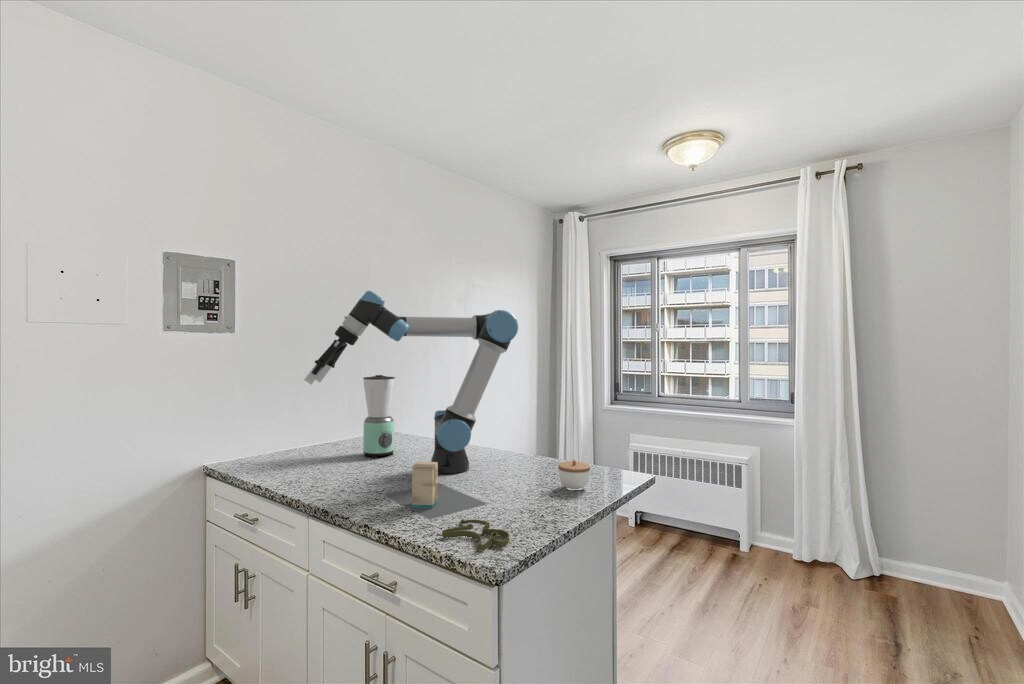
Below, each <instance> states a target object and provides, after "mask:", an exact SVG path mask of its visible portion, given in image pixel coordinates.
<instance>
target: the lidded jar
mask: <svg viewBox="0 0 1024 684" xmlns="http://www.w3.org/2000/svg"><path fill="white" fill-rule="evenodd" d="M557 467H558V468H557V469H558V478H559V481H560V484H561V485H562V486H563V487H564V488H565V487H566V488H571V489H579V488H583V487H584V488H585V487H586V486H587V485H588V483H589V481H590V477H591V476H590V475H591V465H590V464H589V463H586V462H581V461H576V460H575V459H572V461H564V462H560V463H558V465H557ZM584 488H583V489H584Z"/></svg>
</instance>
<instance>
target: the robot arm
mask: <svg viewBox="0 0 1024 684" xmlns="http://www.w3.org/2000/svg"><path fill="white" fill-rule="evenodd" d="M360 297H361V298H359V299H358V301H357V302H356V303H355V305H354V306H353V308H352V309H351V311H350V312H349V313H348V314H347V316H346V315H345V316H344V317H343V318H344V319H343V321H342V323H341V324H342V325H339V326H338V327H337V329H336V330H335V331H334V335H335V336H336V337H337V338H338V339H334V340H333V341H332V343H331V344H330V345H329V347H328V348H327V349H326V350H325V351H324V353H322V354H321V355H320V357H319V358H318V359H315V360H314V364H315V365H314V366H313V367H312V369H311V370H310V371H309V373H308V374H307V375H306V377H305V378H303V381H305V382H306V383H308V384H310V385H312V384H313V383H314V382H315V381H317V382H319V383H321V382H322V381H323V380H324V378H325V377H326V375H327V374H328V373H329V372H330V370H331V368H333V369H334V368H336V367H335V366H336V363H337V361H339V358H340V356H341V355H342V354H343V352H344V351H345V349H346V348H347V347H348V345H350V346H354V345H355V344H356V342H357V341H358V340H359V337H361V336H362V335H363V334H364V332H365V331H366V329H367V328H368V326H369V325H372V326H373V327H375V328H376V329H378V330H379V331H381V332H382V333H383V334H384V335H386V336H387V337H388V338H390V339H391V340H394V341H395V342H399V341H401V339H402V338H403V337H433V338H434V337H438V338H439V337H440V338H441V337H442V338H443V337H445V338H447V337H448V338H449V337H451V338H452V337H454V338H456V337H457V338H460V337H461V338H472V339H473V340H475V341H476V340H477V342H478V347H477V349H476V352H475V354H474V356H473V358H472V360H471V363H470V365H469V366H468V370H467V372H466V374H465V376H464V378H463V380H462V382H461V385H460V387H459V390H458V392H457V394H456V396H455V398H454V401H453V403H452V404H451V405H449V406H447V407H446V409H445V410H443V409H442V410H441V409H440V410H436V411H435V413H434V417H433V419H434V450H433V453H432V457H431V460H430V462H438V474H440V473H454V474H458V473H457V472H461V473H463V472H462V471H465V470H467V469H468V470H469V469H470V462H469V458H468V456H467V451H466V448H467V446H468V445H469V444H470V442H471V438H472V430H473V428H474V426H475V424H476V422H477V419H476V415H475V414H476V411H477V409H478V406H479V405H480V402H481V400H482V398H483V395H484V393H485V390H486V388H487V386H488V384H489V382H490V379H491V378H492V375H493V373H494V370H495V368H496V366H497V363H498V361H499V359H500V356H501V355H502V354H505V353H506V352H507V350H508V349H509V347H510V345H511V342H512V340H514V338H515V337H516V336H517V334H518V332H519V322H518V319H517V318H516V316H515V315H514V314H513V312H512V313H511V311H508V310H506V309H497V310H494V311H492V312H490V313H487V314H474V315H473V316H471V317H457V316H456V317H453V316H452V317H451V316H450V317H448V316H447V317H446V316H445V317H444V316H440V317H439V316H398V315H396V314H395V313H393V312H392V311H390V310H388V309H387V307H385V303H386V301H385V300H384V299H383V298H382V297H381V296H379V295H378V294H377V293H375V292H373V291H372V290H366V292H365V293H364V294H363V295H362V296H360ZM468 470H467V471H468ZM465 472H466V471H465Z"/></svg>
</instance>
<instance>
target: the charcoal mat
mask: <svg viewBox="0 0 1024 684" xmlns="http://www.w3.org/2000/svg"><path fill="white" fill-rule="evenodd" d="M384 496H385V497H388V498H389V499H391V500H393V501H395V502H397V503H399V505H400V504H401V505H402V506H404V507H406V508H408V509H409V510H412V511H413V512H415V513H417V514H418V515H421V516H422V517H424V518H427V520H431V519H436V518H440V517H443V516H447V515H451V514H455V513H458V512H462V511H466V510H471V509H474V508H478V507H482V506H486V505H488V503H487V502H484V501H483V500H480V499H478V498H476V497H473V496H471V495H469V494H466V493H463V492H461V491H459V490H458V489H457V490H456V489H455V488H452V487H449V486H447V485H445V484H443V483H440V482H438V502H437V503H436V505H435V506H434V507H433V509H427V508H412V488H409V489H405V490H400V491H395V492H390V493H386V494H385V493H384Z"/></svg>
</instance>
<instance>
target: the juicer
mask: <svg viewBox="0 0 1024 684" xmlns="http://www.w3.org/2000/svg"><path fill="white" fill-rule="evenodd" d="M362 378H363V389H364V394H365V401H366V409H367V415H368V416H367V417H366V418H365V419H364V421H363V442H362V443H363V444H362V445H363V447H362V448H363V449H362V451H363V454H365V455H364V456H368V457H369V456H370V457H372V459H376V458H375V457H377V458H378V457H381V456H389V455H392V456H394V452H395V422H394V418H393V417H392V416H391V414H390V413H391V408H392V401H393V393H394V388H395V379H396V377H395V376H386V375H384V374H376V375H374V376H364V377H362Z"/></svg>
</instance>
